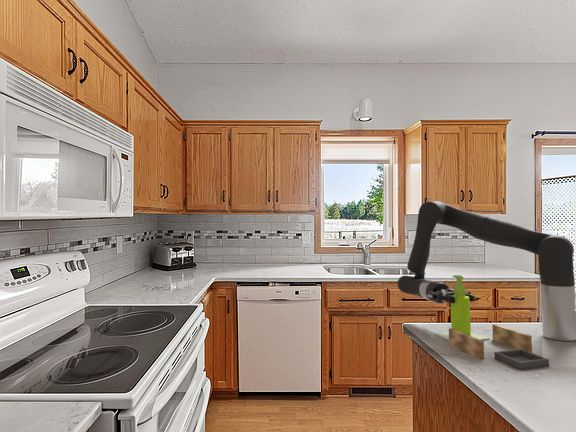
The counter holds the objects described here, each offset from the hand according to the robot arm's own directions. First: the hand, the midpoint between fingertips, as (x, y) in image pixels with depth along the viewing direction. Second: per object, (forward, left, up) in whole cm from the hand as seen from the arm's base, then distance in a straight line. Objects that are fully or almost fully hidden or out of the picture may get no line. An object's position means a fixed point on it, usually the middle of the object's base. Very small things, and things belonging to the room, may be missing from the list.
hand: (463, 299), depth 128 cm
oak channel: (-5, +9, -13) cm, 17 cm away
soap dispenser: (+1, -2, -13) cm, 13 cm away
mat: (+1, -2, -13) cm, 13 cm away
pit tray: (-11, +20, -13) cm, 26 cm away
